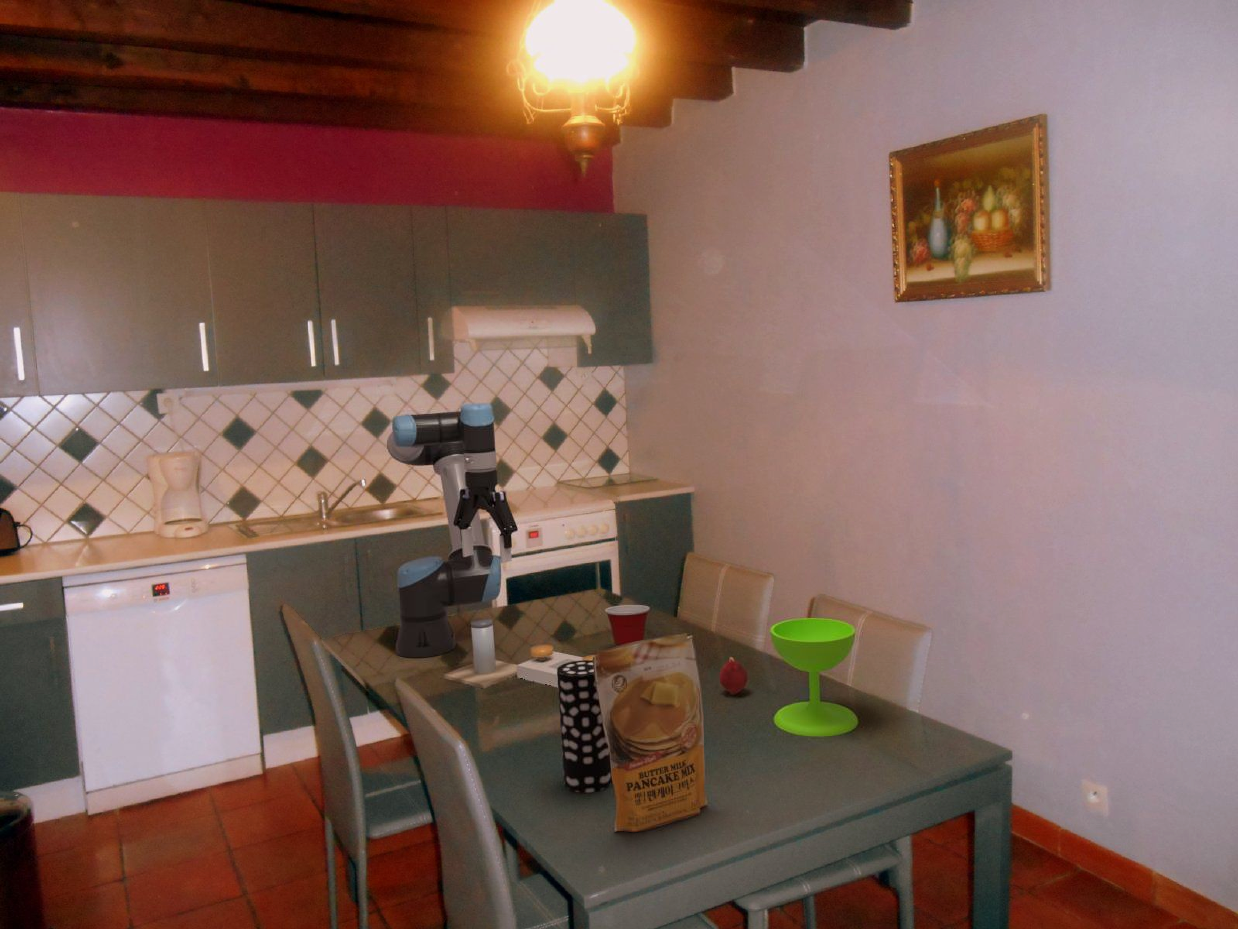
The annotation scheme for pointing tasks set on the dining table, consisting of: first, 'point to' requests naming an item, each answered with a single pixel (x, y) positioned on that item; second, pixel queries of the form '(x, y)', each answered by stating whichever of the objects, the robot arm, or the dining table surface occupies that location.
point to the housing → (544, 668)
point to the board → (482, 681)
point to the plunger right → (588, 657)
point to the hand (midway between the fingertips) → (486, 558)
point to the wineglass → (814, 673)
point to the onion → (733, 676)
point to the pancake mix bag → (653, 729)
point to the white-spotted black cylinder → (582, 729)
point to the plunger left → (542, 652)
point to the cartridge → (483, 646)
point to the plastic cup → (627, 623)
